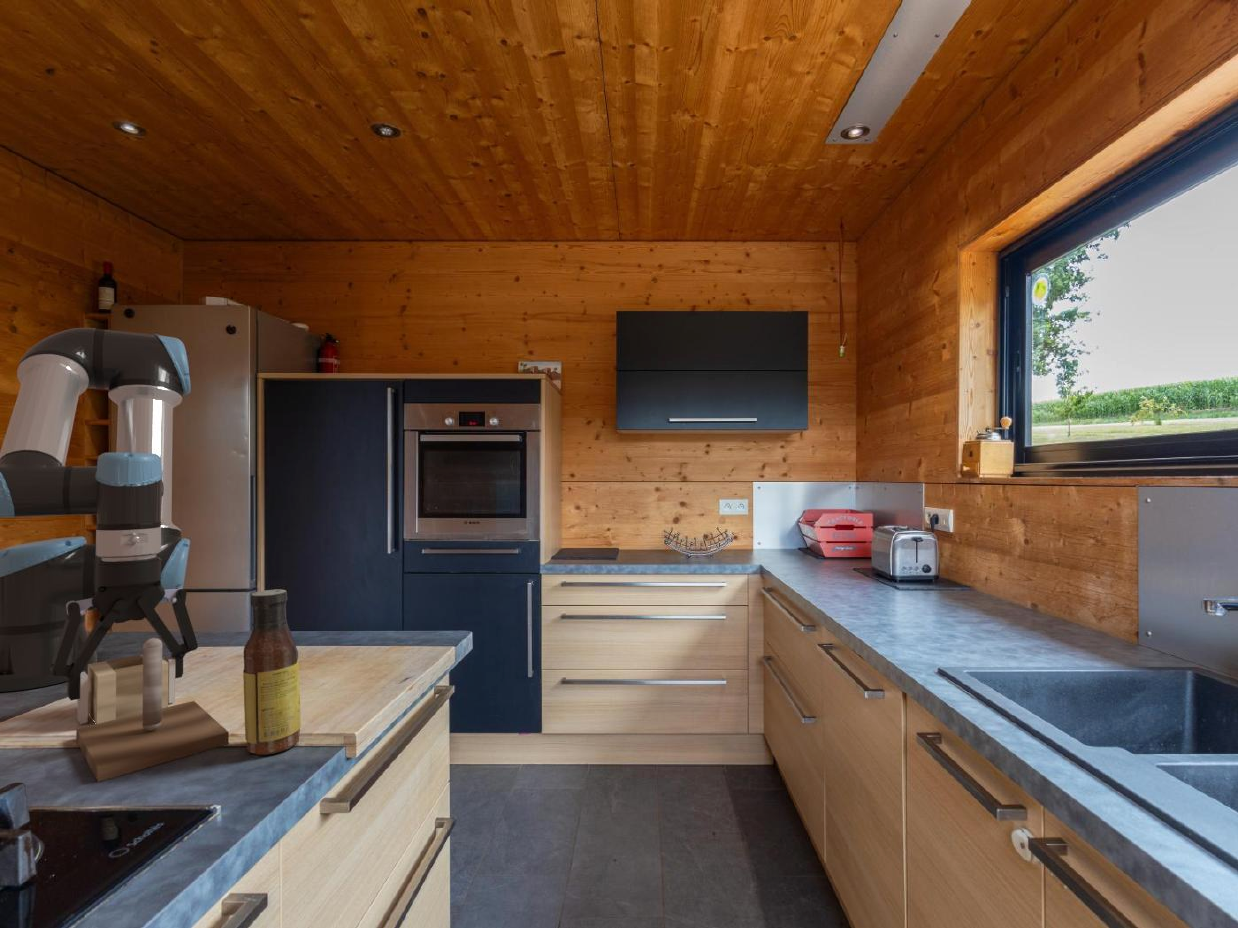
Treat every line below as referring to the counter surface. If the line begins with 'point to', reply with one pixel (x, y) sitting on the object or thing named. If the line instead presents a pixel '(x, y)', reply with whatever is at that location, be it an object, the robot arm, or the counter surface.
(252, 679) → the sauce bottle
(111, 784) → the counter surface
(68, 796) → the counter surface
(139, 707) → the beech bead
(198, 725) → the rod stand
